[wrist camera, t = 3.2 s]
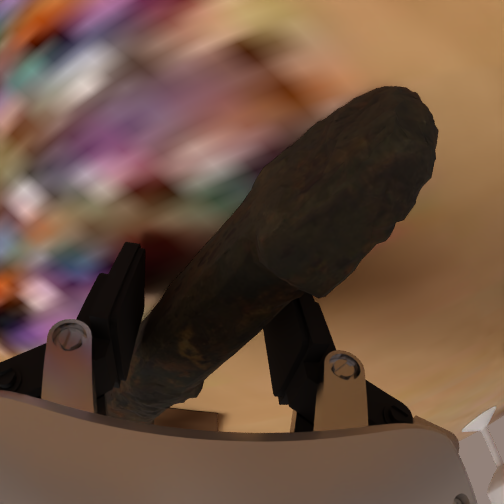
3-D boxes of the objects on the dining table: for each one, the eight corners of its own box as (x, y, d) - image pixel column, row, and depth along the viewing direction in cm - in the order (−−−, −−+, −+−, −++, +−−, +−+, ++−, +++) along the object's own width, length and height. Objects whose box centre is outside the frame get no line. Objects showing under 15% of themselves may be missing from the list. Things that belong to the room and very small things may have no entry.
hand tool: (152, 391, 16) (144, 459, 12) (93, 363, 15) (73, 432, 11) (419, 142, 10) (504, 184, 6) (354, 62, 8) (439, 57, 4)
